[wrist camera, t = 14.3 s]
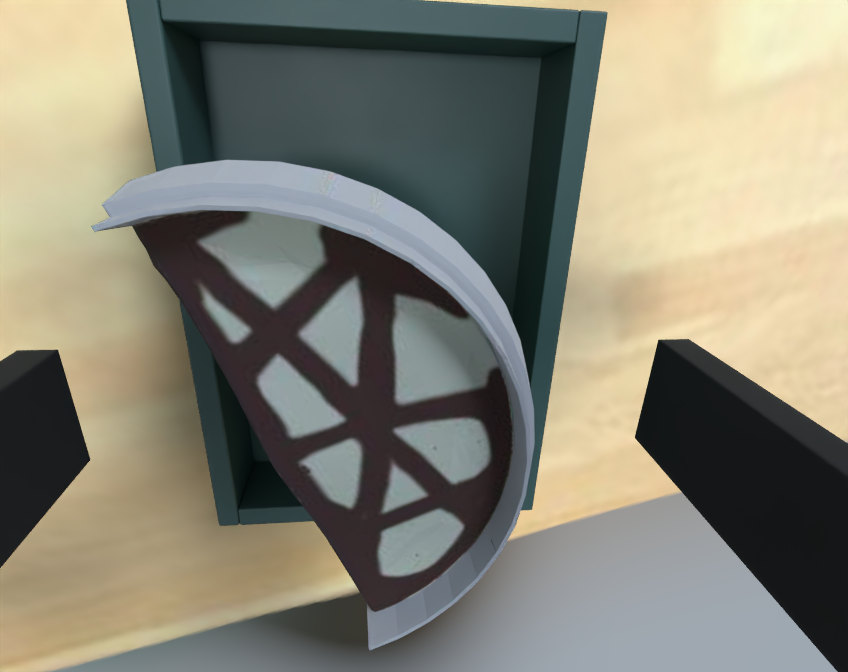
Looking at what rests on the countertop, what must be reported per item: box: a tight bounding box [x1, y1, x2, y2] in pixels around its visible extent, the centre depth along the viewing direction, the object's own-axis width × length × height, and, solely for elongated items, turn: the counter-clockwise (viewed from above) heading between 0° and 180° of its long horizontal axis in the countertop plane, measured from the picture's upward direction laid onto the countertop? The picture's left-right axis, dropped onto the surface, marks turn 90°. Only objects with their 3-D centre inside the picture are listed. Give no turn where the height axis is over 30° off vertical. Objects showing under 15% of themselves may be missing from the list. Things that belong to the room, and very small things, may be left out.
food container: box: [91, 160, 535, 650], centre depth 14 cm, size 12×6×10 cm, turn 20°
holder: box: [126, 0, 607, 526], centre depth 18 cm, size 13×18×4 cm
